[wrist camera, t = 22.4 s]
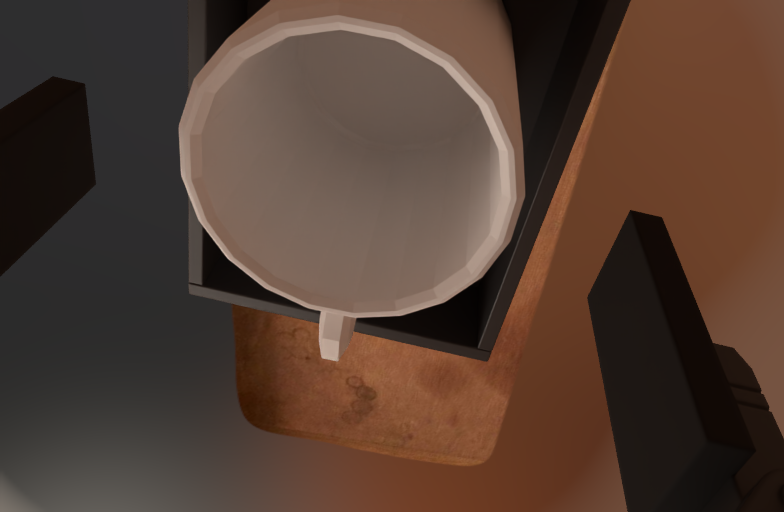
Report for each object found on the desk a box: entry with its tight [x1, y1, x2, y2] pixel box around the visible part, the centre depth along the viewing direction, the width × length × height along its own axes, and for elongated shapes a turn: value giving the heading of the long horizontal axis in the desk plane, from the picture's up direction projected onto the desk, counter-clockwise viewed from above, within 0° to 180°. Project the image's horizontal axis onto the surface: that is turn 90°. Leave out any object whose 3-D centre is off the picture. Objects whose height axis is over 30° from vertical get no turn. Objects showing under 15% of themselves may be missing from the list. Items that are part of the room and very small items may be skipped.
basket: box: [188, 0, 631, 362], centre depth 22 cm, size 16×12×5 cm
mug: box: [179, 0, 525, 361], centre depth 20 cm, size 8×12×10 cm
